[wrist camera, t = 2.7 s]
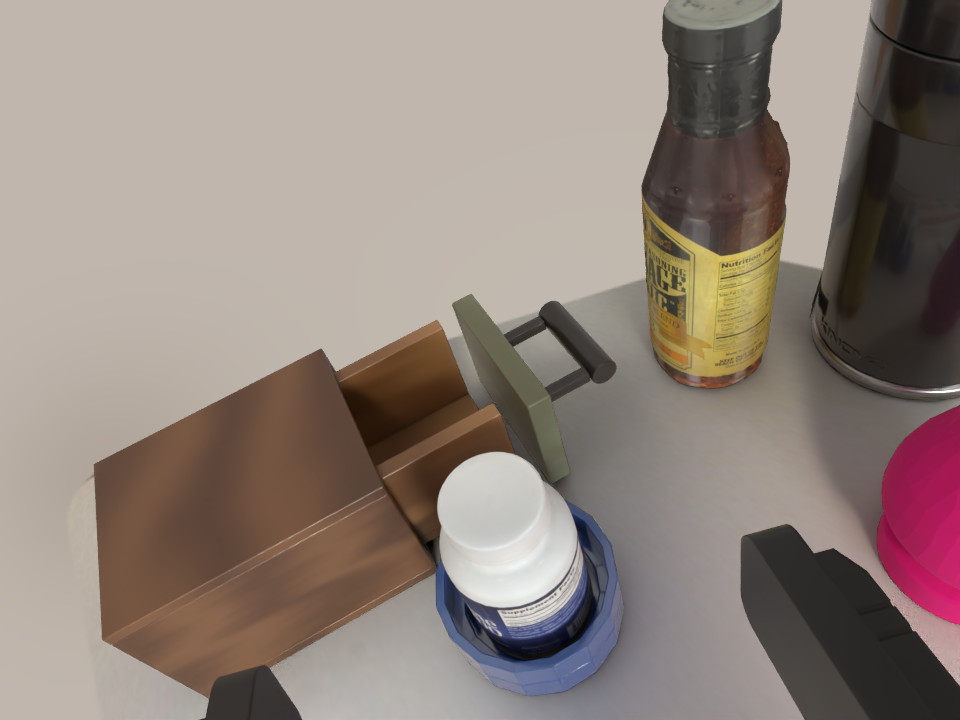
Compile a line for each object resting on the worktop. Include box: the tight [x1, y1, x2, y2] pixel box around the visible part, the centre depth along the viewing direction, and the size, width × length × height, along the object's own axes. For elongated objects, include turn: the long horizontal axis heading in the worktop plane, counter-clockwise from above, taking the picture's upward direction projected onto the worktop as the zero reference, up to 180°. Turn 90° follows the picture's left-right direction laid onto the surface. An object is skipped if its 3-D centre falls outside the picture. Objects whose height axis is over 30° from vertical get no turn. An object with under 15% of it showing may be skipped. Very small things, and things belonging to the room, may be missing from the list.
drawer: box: [334, 294, 617, 545], centre depth 35 cm, size 16×8×7 cm, turn 116°
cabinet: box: [94, 349, 437, 698], centre depth 33 cm, size 12×10×8 cm
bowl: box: [436, 499, 624, 696], centre depth 30 cm, size 8×8×4 cm
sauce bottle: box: [642, 0, 790, 388], centre depth 31 cm, size 7×6×20 cm
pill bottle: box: [437, 452, 593, 660], centre depth 27 cm, size 5×5×10 cm
